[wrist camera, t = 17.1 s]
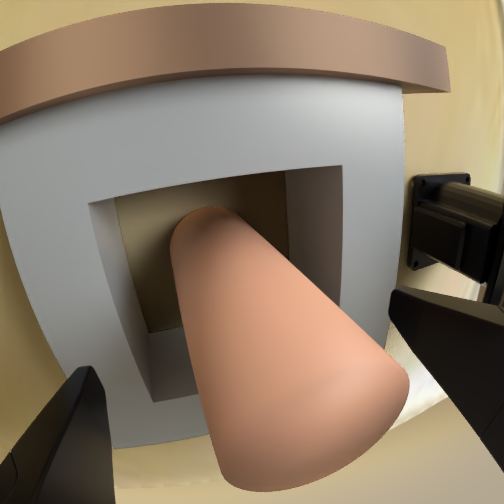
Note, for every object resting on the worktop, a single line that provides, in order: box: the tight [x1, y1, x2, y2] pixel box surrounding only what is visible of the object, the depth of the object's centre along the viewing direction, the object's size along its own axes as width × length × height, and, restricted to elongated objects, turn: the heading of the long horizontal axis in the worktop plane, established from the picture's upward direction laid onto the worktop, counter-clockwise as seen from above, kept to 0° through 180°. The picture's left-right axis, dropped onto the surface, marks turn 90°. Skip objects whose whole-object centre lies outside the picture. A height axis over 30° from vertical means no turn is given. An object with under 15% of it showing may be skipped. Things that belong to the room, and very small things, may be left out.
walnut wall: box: [0, 3, 451, 125], centre depth 9 cm, size 18×2×6 cm, turn 95°
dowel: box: [170, 207, 409, 492], centre depth 10 cm, size 4×4×11 cm
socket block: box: [0, 74, 405, 449], centre depth 12 cm, size 14×14×5 cm
